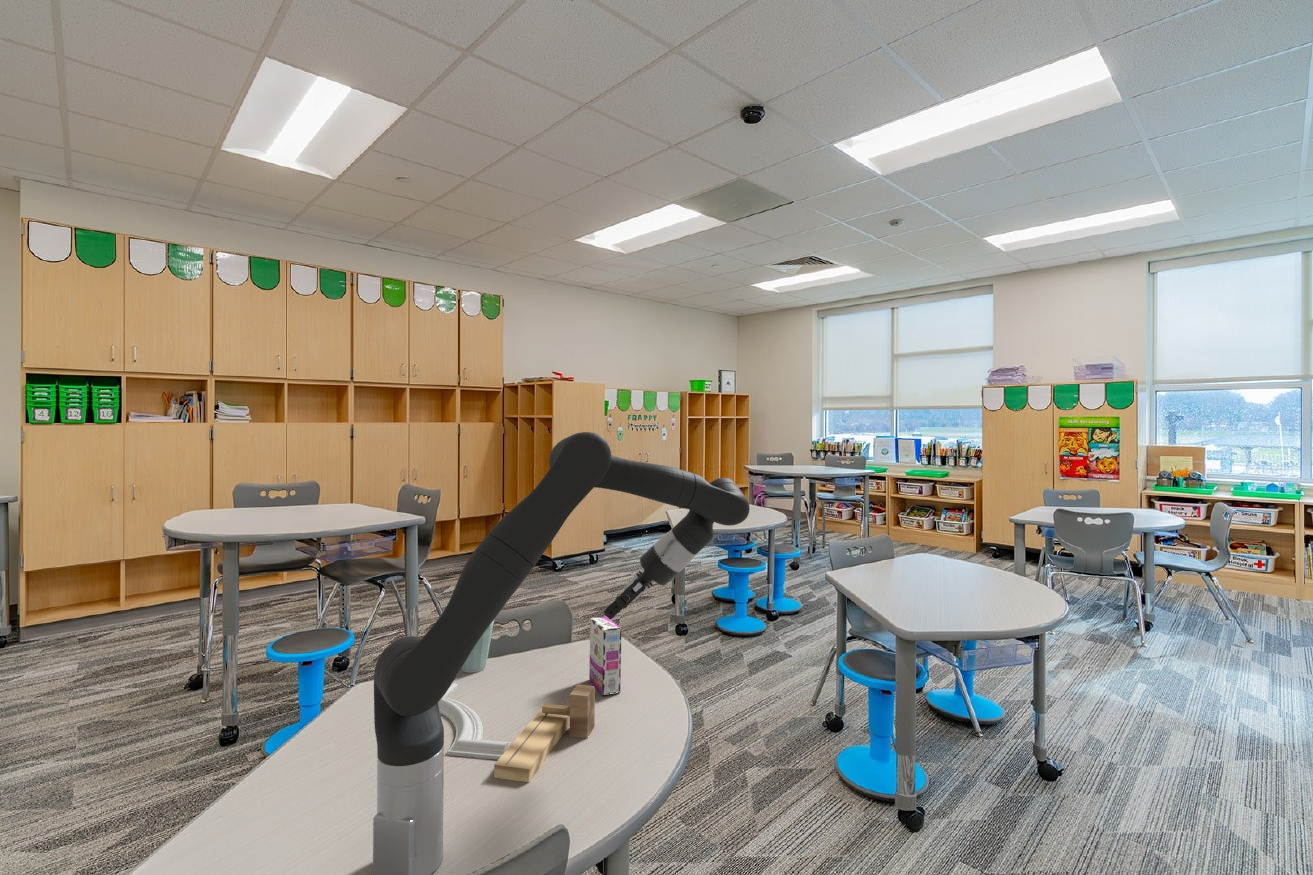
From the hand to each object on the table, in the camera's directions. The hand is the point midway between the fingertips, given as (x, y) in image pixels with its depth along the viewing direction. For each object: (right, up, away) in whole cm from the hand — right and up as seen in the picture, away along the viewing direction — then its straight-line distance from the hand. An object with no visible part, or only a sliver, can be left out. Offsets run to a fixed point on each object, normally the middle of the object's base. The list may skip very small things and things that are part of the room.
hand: (612, 609), depth 122 cm
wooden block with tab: (-11, -28, +7) cm, 31 cm away
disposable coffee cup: (-41, -28, +40) cm, 64 cm away
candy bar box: (-4, -29, +30) cm, 41 cm away
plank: (-16, -28, 0) cm, 32 cm away
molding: (-34, -29, +12) cm, 47 cm away
